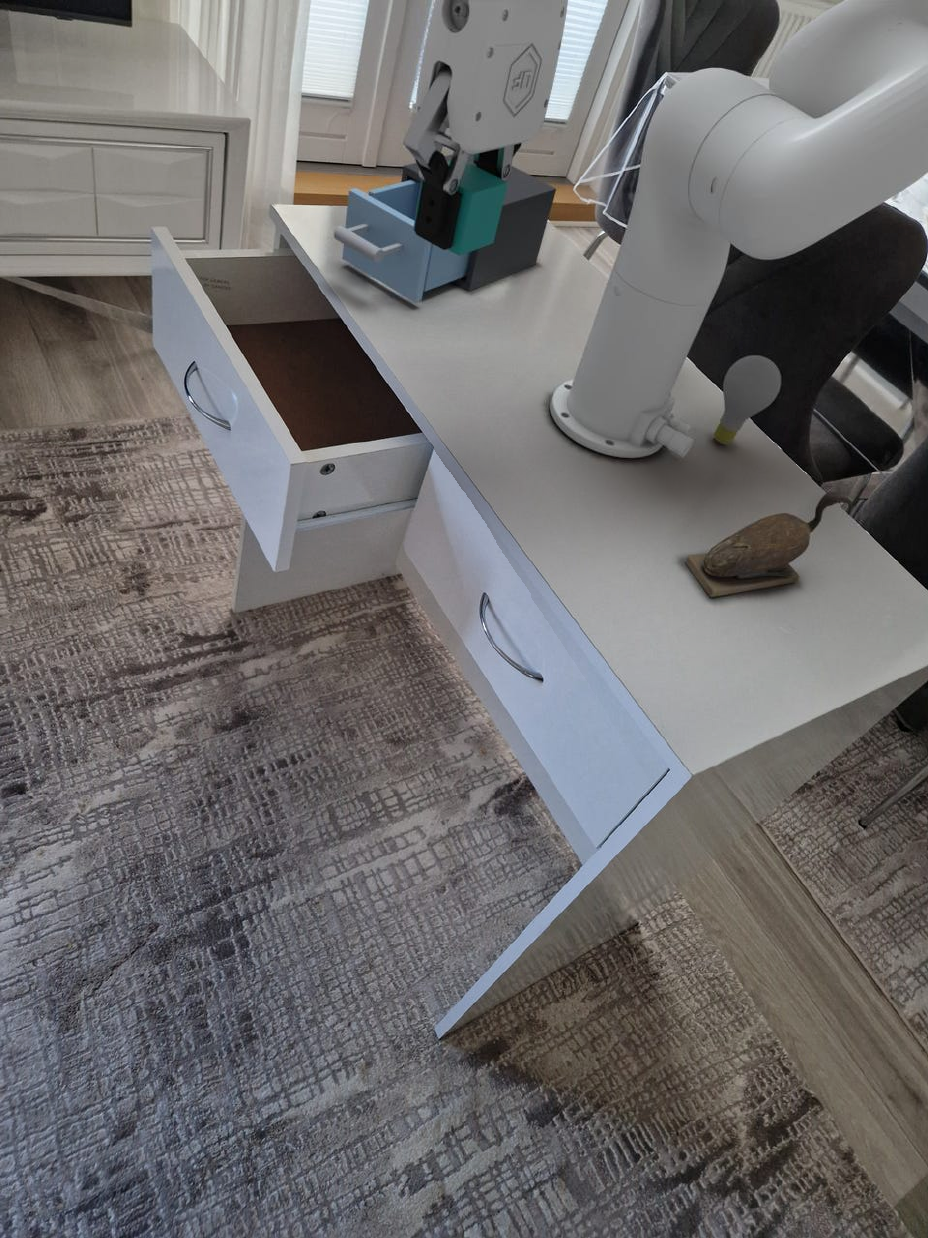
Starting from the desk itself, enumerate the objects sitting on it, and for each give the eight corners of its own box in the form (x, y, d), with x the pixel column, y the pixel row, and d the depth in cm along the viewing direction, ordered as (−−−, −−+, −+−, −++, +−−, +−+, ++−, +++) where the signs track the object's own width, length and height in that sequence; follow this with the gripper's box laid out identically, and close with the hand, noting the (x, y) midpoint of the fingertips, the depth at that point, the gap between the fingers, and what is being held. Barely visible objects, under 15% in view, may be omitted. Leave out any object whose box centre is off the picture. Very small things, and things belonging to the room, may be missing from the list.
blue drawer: (386, 313, 89) (397, 243, 83) (312, 267, 92) (317, 197, 87) (485, 274, 100) (500, 209, 94) (416, 235, 104) (426, 170, 98)
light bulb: (719, 462, 84) (764, 378, 77) (686, 430, 87) (727, 347, 80) (755, 453, 87) (802, 371, 80) (721, 423, 90) (764, 341, 82)
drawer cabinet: (468, 291, 98) (486, 210, 91) (391, 246, 102) (403, 165, 95) (535, 264, 107) (556, 188, 100) (462, 223, 111) (477, 147, 104)
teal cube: (493, 243, 63) (508, 182, 60) (459, 256, 60) (472, 193, 57) (448, 218, 64) (460, 157, 61) (412, 230, 61) (423, 166, 58)
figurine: (800, 543, 78) (849, 472, 72) (829, 577, 75) (883, 506, 69) (683, 561, 72) (725, 486, 66) (710, 598, 70) (757, 523, 64)
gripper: (485, -52, 42) (422, 283, 56) (632, -47, 53) (550, 232, 66) (377, -97, 44) (341, 236, 58) (539, -84, 55) (478, 194, 68)
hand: (453, 231), depth 62 cm, fingers closed on teal cube, 4 cm apart
